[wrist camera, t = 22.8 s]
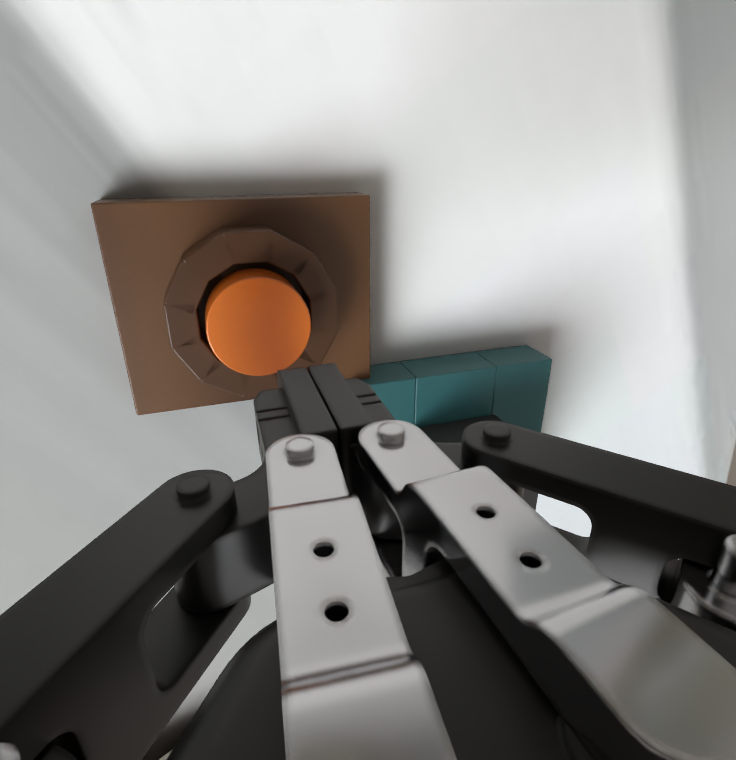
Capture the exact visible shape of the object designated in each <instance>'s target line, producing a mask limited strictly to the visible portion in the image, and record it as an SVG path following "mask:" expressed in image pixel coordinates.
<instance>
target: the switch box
mask: <svg viewBox="0 0 736 760" xmlns="http://www.w3.org/2000/svg"><path fill="white" fill-rule="evenodd" d="M91 208H92V213H93V217H94V222H95V226H96V231H97V235H98V240H99V244H100V249H101V254H102V258H103V263H104V267H105V272H106V276H107V281H108V286H109V290H110V295H111V299H112V304H113V308H114V313H115V317H116V322H117V327H118V331H119V336H120V340H121V345H122V349H123V354H124V359H125V363H126V368H127V372H128V377H129V381H130V386H131V390H132V395H133V400H134V404H135V409H136V413H137V415H143V414H150V413H157V412H164V411H172V410H179V409H186V408H193V407H201V406H208V405H215V404H222V403H229V402H237V401H244V400H251V399H255V398H256V396H257V395H258V393H259V392H260V391H264V390H271V389H278V382H277V373H274V374H270V375H264V376H252V375H246V374H242V373H239V372H237V371H234V370H232V369H231V368H229V367H227V366H226V365H225V364H223V363H222V362H221V361H220V360H219V359H218V358H217V356H216V355H215V354H214V352H213V351H212V349H211V347H210V345H209V342H208V338H207V334H206V323H205V308H206V303H207V300H208V298H209V295H210V294H211V292H212V290H213V289H214V287H215V286H216V285H217V284H218V283H219V282H220V281H221V280H222V279H223V278H225V277H226V276H228V275H230V274H231V273H234V272H236V271H239V270H243V269H248V268H260V269H266V270H270V271H272V272H275V273H277V274H279V275H281V276H282V277H284V278H285V279H286V280H288V281H289V282H290V283H291V284H292V286H293V287H294V288H295V289H296V291H297V292H298V293H299V295H300V296H301V297H302V299H303V300H304V302H305V304H306V305H307V308H308V310H309V314H310V319H311V332H310V337H309V341H308V343H307V346H306V348H305V349H304V351H303V353H302V354H301V355H300V357H299V358H298V359H297V360H296V361H295V362H294V363H293V364H291V365H290V366H289V367H287V368H285V369H291V368H299V367H307V366H314V365H322V364H329V363H335V365H336V366H337V368H338V369H339V371H340V372H341V374H342V375H343V377H344V378H345V379H350V378H358V379H359V380H361V379H368V378H370V196H369V195H366V194H362V193H324V194H288V195H252V196H216V197H179V198H143V199H107V200H97V201H95V202H93V203H91Z"/></svg>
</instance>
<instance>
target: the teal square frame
mask: <svg viewBox="0 0 736 760" xmlns="http://www.w3.org/2000/svg"><path fill="white" fill-rule="evenodd" d="M551 364H552V359H551V358H549V357H547V356H546V355H544V354H542V353H540V352H539V351H537V350H535V349H533V348H532V347H530V346H528V345H524V346H516V347H508V348H500V349H493V350H485V351H477V352H469V353H462V354H454V355H446V356H438V357H430V358H422V359H415V360H407V361H400V362H393V363H385V364H377V365H370V378H368V379H361V381H363V382H365V383H367V384H369V385H370V386H371V388H372V389H373V390H374V392H375V393H376V395H377V396H378V397H379V398H380V400H381V402H383V404H384V405H385V406H386V408H387V409H388V410H389V412H390V413H391V414H392V416H393V417H394V418H395V420H400V421H405V422H408V423H411V424H414V425H415V426H417V427H423V426H429V425H435V424H441V423H447V422H453V421H459V420H464V419H470V418H476V417H482V416H488V415H496V416H497V417H499V418H500V419H501V420H502V421H503V422H505V423H509V424H512V425H516V426H520V427H523V428H527V429H530V430H534V431H538V432H541V428H542V421H543V415H544V408H545V402H546V396H547V389H548V383H549V377H550V370H551Z"/></svg>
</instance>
